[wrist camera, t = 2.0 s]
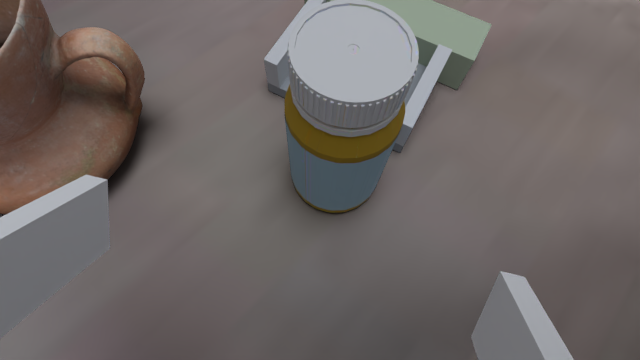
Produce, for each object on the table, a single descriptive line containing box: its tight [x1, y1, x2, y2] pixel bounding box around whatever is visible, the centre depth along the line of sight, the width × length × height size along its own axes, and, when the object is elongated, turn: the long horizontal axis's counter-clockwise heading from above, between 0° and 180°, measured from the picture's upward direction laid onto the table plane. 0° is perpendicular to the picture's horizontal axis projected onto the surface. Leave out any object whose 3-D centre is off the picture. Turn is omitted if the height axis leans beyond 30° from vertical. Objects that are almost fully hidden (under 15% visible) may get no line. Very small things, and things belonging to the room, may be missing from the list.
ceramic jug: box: [0, 0, 145, 214], centre depth 26 cm, size 18×14×14 cm
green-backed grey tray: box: [264, 0, 492, 153], centre depth 34 cm, size 16×13×4 cm
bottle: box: [285, 0, 419, 213], centre depth 25 cm, size 7×7×15 cm
